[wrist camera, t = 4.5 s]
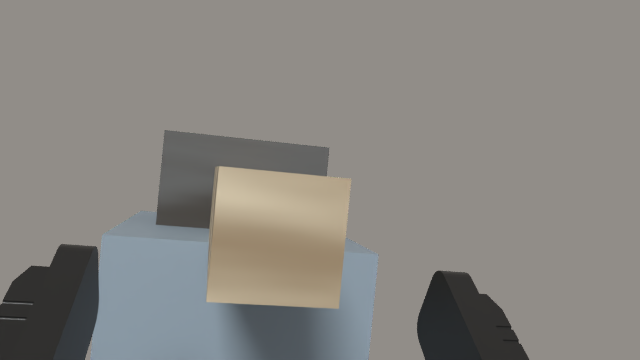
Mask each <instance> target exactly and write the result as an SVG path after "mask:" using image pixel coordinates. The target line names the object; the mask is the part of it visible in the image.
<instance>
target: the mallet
mask: <svg viewBox="0 0 640 360" xmlns="http://www.w3.org/2000/svg"><path fill="white" fill-rule="evenodd" d="M328 156H329V148H327V147H317V146H307V145H298V144H289V143H279V142H270V141H261V140H252V139H242V138H233V137H224V136H214V135H204V134H196V133H185V132H177V131H167V130H165V133H164V144H163V154H162V165H161V175H160V186H159V196H158V207H157V217H156V225H165V226H179V227H192V228H205V229H209V248H208V271H207V294H206V302H215V303H235V304H254V305H274V306H294V307H313V308H333V309H339V301H340V291H341V280H342V270H343V259H344V249H345V239H346V228H347V218H348V208H349V196H350V186H351V179H346V178H337V177H327V167H328Z"/></svg>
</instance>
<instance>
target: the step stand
mask: <svg viewBox="0 0 640 360" xmlns="http://www.w3.org/2000/svg"><path fill="white" fill-rule="evenodd" d="M156 217H157V212H148V211H140V212H139V213H137V214H135V215H134V216H132V217H131V218H129V219H127V220H126V221H124V222H122V223H121V224H119V225H118V226H116V227H114V228H113V229H111V230H109V231H108V232H106V233H104V234H103V235H102V242H101V254H100V264H99V307H98V314H97V320H96V324H95V328H94V331H93V338H92V349H91V359H90V360H368V358H369V347H370V337H371V327H372V316H373V306H374V295H375V285H376V275H377V264H378V254H377V253H375V252H373V251H371V250H369V249H367V248H365V247H363V246H361V245H359V244H357V243H356V242H354V241H352V240H350V239H348V238H346V239H345V249H344V259H343V270H342V280H341V291H340V301H339V309H333V308H313V307H294V306H274V305H254V304H235V303H215V302H206V294H207V271H208V248H209V229H205V228H192V227H179V226H165V225H156Z"/></svg>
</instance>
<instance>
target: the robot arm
mask: <svg viewBox="0 0 640 360" xmlns="http://www.w3.org/2000/svg"><path fill="white" fill-rule="evenodd" d="M98 307H99V274H98V250H97V247H96V246H82V245H81V246H80V245H67V244H61V245H60V246H59V248H58V249H57V252H56V254H55V256H54V258H53V261H52V263H51V265H50V267H42V266H31V267H29V268H28V269H27V270H26V271H25V272H23V273H22V274H21V275H20V276H19V277H18V278H16V279H15V280H14V281H13V282H12V284H11V286H10V288H9V290H8V291H7V293H6V295H5V297H4V299H3V303H2V304H1V305H0V360H85V357H86V354H87V350H88V347H89V344H90V341H91V337H92V334H93V331H94V328H95V324H96V320H97V314H98ZM417 333H418V339H419V343H420V345H421V348H422V351H423V354H424V357H425V360H529V358H528V356H527V354H526V353H525V351H524V349H523V347H522V345H521V344H519V342H518V338H517V336H516V335H515V332H514V331H513V330H511V325H510V323H509V321H508V319H507V318H506V316H505V314H504V312H503V310H502V309H501V308H500V307H499V306H498V305H497V304H496V303H495V302H494V301H493V300H492V299H491V298H490V297H489V296H488V295H487V294H479V293H478V291H477V288H476V286H475V285H474V283H473V281H472V279H471V277H470V275H469V274H468V273H465V272H450V271H437V272H435V274H434V275H433V277H432V280H431V283H430V286H429V288H428V291H427V294H426V296H425V299H424V302H423V305H422V307H421V310H420V313H419V316H418V322H417Z"/></svg>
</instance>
